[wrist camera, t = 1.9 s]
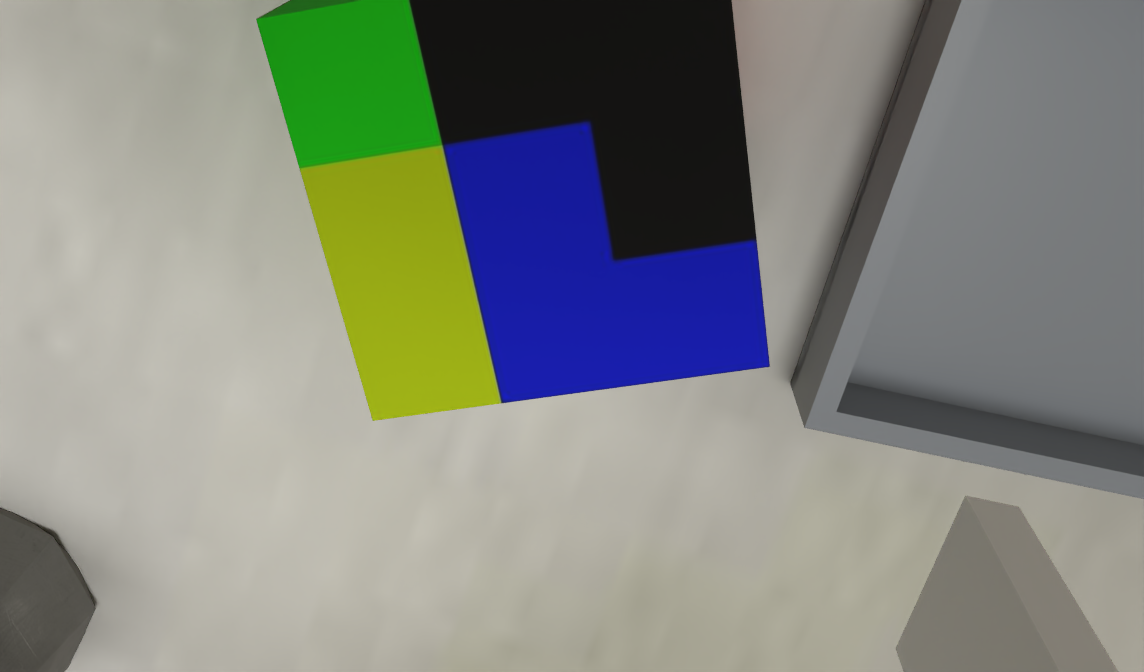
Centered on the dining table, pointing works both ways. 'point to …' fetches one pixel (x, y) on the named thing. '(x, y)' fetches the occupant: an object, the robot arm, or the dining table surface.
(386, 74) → the puzzle toy
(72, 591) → the coffeepot
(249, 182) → the dining table surface
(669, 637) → the dining table surface
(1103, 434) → the tray
